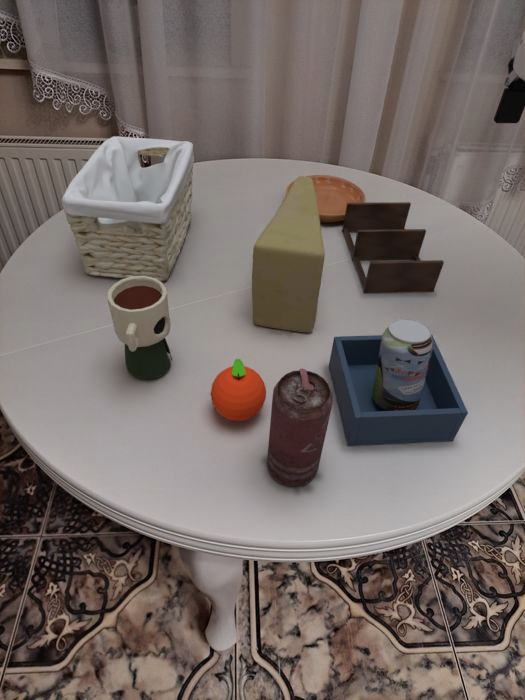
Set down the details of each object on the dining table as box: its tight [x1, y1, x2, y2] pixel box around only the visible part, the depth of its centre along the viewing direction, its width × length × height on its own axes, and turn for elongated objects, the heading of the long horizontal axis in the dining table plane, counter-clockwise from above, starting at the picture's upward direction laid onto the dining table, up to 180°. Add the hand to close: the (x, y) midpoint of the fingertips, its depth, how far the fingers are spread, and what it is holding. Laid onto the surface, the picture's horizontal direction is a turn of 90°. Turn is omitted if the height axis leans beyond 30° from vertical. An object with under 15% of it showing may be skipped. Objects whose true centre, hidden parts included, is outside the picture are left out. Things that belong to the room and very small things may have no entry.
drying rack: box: [341, 201, 445, 294], centre depth 89 cm, size 12×19×6 cm, turn 5°
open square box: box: [328, 333, 469, 447], centre depth 66 cm, size 14×14×6 cm
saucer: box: [285, 174, 366, 224], centre depth 103 cm, size 16×16×3 cm
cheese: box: [251, 175, 326, 333], centre depth 80 cm, size 22×10×15 cm, turn 170°
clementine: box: [210, 358, 267, 422], centre depth 64 cm, size 8×7×7 cm
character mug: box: [107, 276, 173, 379], centre depth 66 cm, size 11×7×13 cm, turn 177°
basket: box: [61, 135, 195, 282], centre depth 87 cm, size 24×16×15 cm
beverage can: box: [372, 318, 434, 411], centre depth 63 cm, size 6×7×12 cm
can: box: [266, 368, 334, 487], centre depth 56 cm, size 6×6×14 cm
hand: (522, 138), depth 61 cm, fingers open, 9 cm apart
